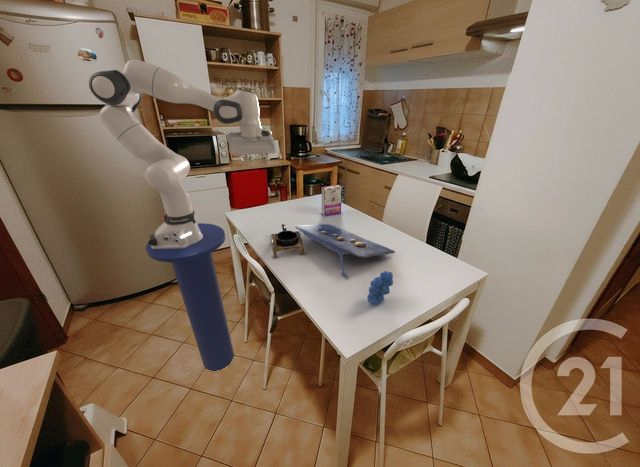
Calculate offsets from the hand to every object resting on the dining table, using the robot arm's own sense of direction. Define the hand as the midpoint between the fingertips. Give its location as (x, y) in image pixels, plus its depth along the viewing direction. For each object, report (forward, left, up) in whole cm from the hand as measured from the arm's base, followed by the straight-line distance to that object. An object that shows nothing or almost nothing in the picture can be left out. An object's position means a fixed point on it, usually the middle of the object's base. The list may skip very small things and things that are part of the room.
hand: (254, 163), depth 120 cm
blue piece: (+34, -25, -36) cm, 55 cm away
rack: (+10, -20, -35) cm, 42 cm away
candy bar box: (+42, +15, -35) cm, 57 cm away
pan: (+11, -16, -31) cm, 37 cm away
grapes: (+36, -62, -35) cm, 80 cm away
